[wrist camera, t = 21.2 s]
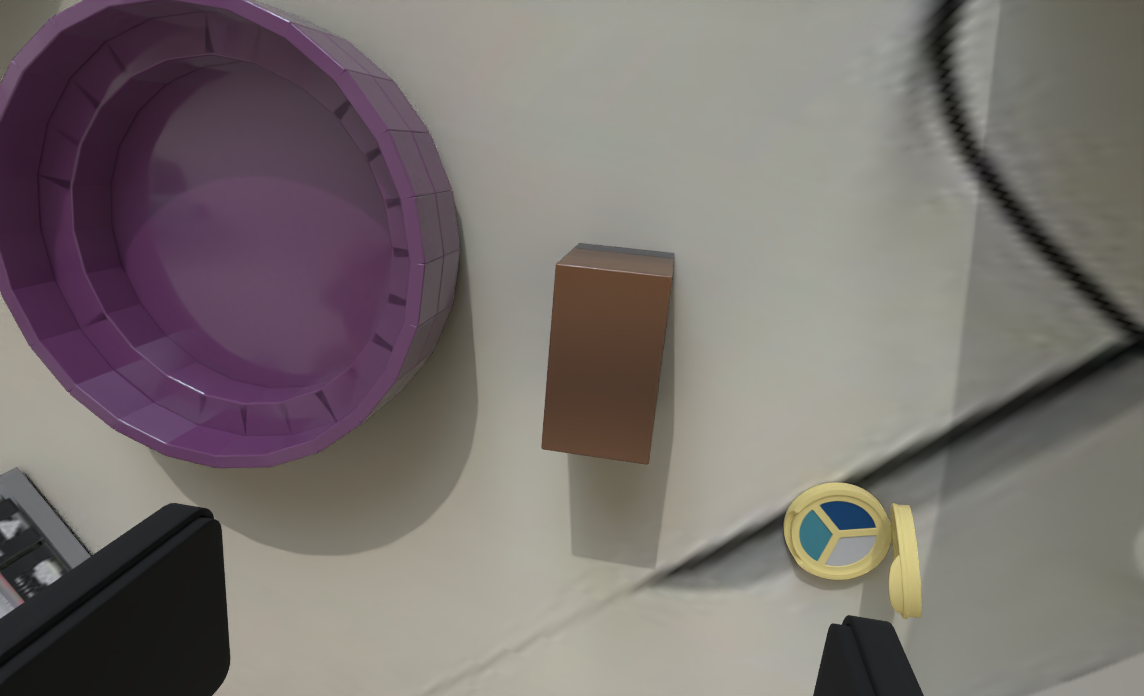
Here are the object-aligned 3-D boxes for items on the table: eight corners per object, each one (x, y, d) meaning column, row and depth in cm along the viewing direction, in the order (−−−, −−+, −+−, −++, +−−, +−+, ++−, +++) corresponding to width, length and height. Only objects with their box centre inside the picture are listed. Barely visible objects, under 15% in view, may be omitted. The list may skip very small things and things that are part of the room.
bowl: (281, -91, 27) (196, -142, 23) (546, 290, 30) (520, 316, 25) (10, 180, 32) (-106, 185, 28) (257, 486, 35) (189, 540, 30)
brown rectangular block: (578, 242, 29) (555, 263, 24) (674, 253, 29) (672, 276, 23) (565, 399, 31) (541, 449, 26) (654, 411, 31) (648, 465, 25)
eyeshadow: (778, 486, 31) (796, 547, 26) (899, 476, 30) (940, 538, 25) (788, 574, 32) (806, 648, 27) (904, 567, 31) (944, 642, 26)
